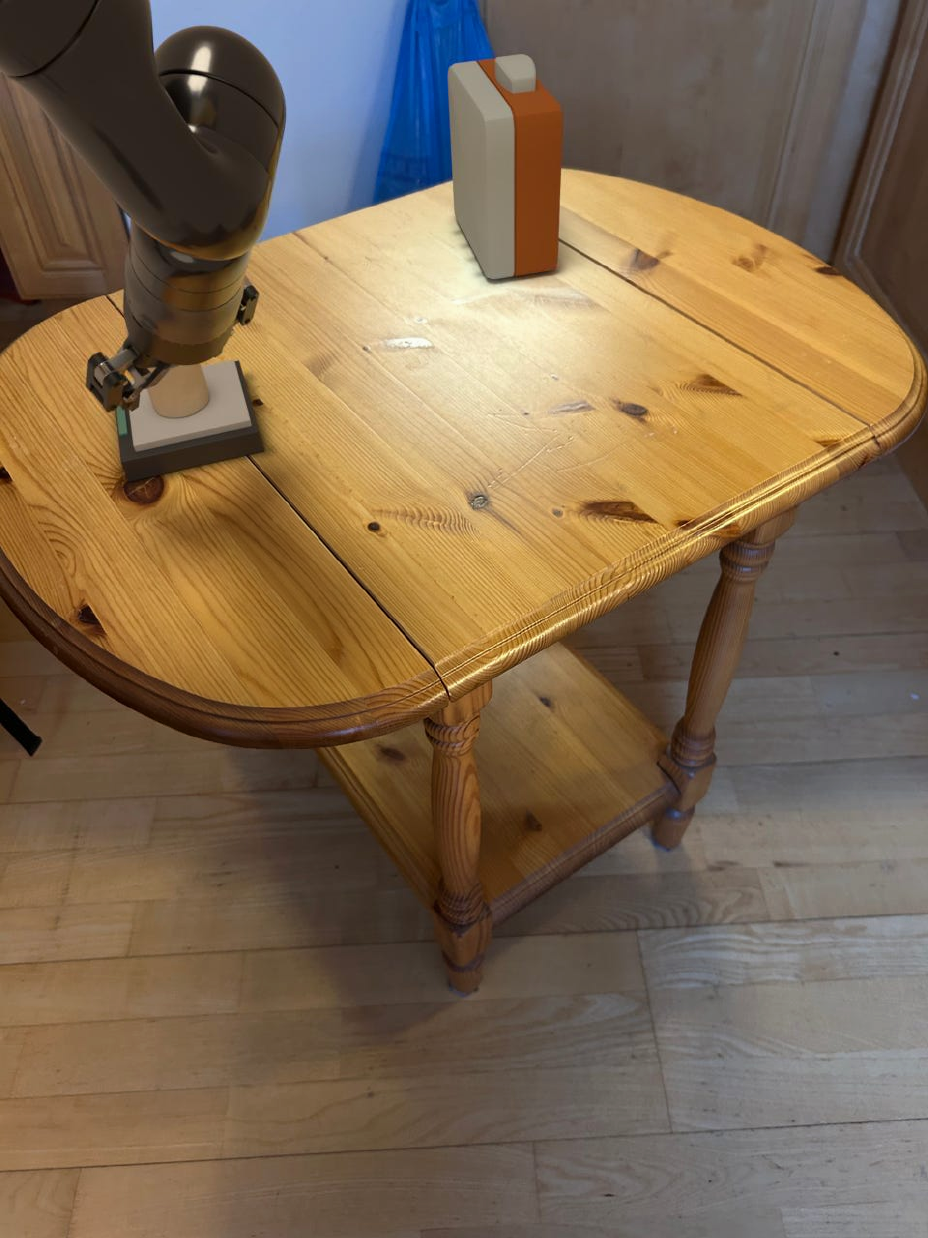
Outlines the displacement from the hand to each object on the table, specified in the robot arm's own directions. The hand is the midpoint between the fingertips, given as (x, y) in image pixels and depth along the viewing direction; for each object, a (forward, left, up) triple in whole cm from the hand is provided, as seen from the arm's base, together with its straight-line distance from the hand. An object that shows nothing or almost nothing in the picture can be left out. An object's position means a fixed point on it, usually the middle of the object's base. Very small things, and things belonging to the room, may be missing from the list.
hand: (168, 372), depth 76 cm
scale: (0, +9, -12) cm, 15 cm away
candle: (0, +9, -9) cm, 13 cm away
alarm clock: (+42, +33, -12) cm, 55 cm away
